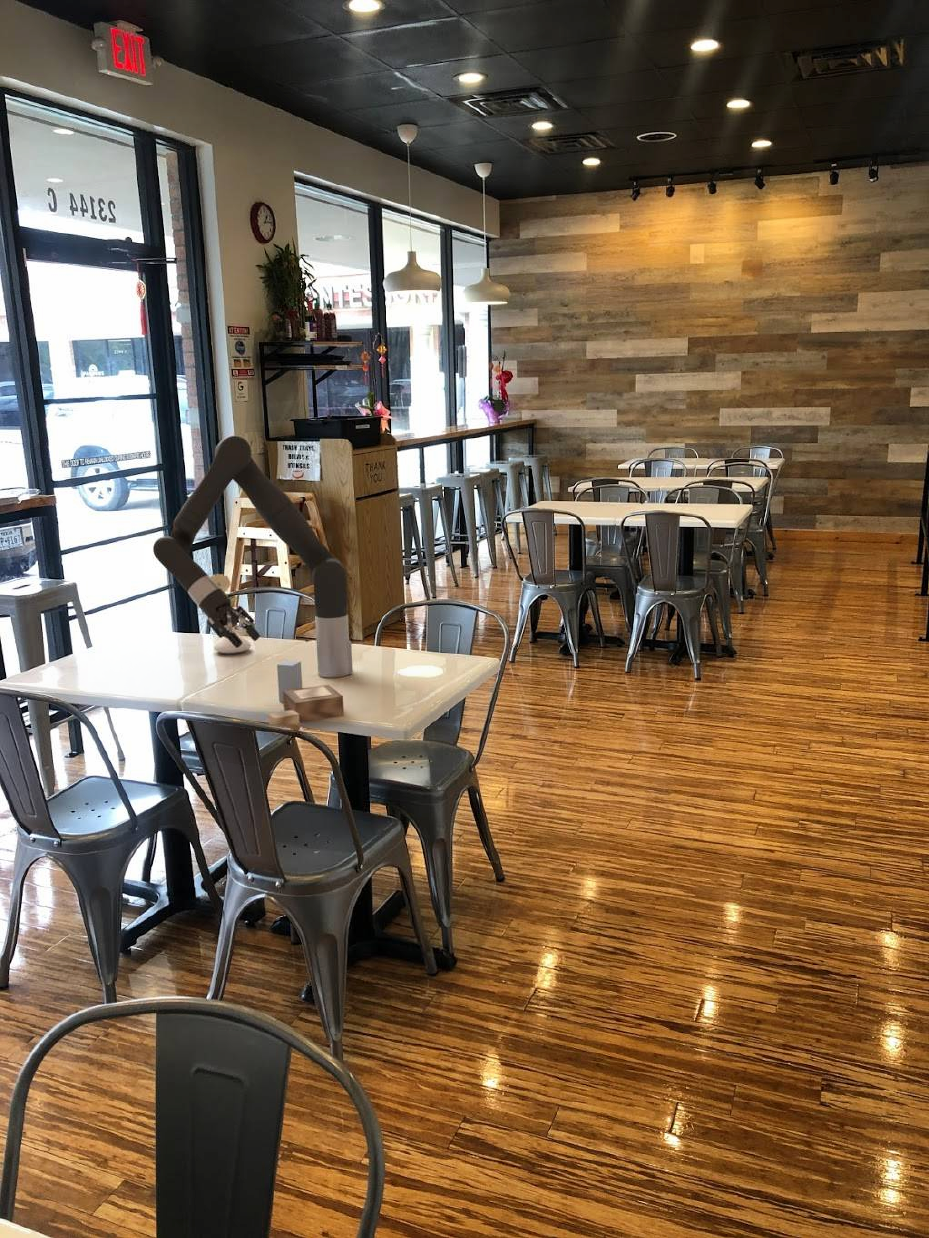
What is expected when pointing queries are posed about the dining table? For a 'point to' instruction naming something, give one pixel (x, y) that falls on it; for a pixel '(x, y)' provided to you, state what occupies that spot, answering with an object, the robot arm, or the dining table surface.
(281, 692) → the pillar
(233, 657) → the dining table surface
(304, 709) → the plinth
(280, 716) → the oak block
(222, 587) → the flower in vase
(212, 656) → the dining table surface
